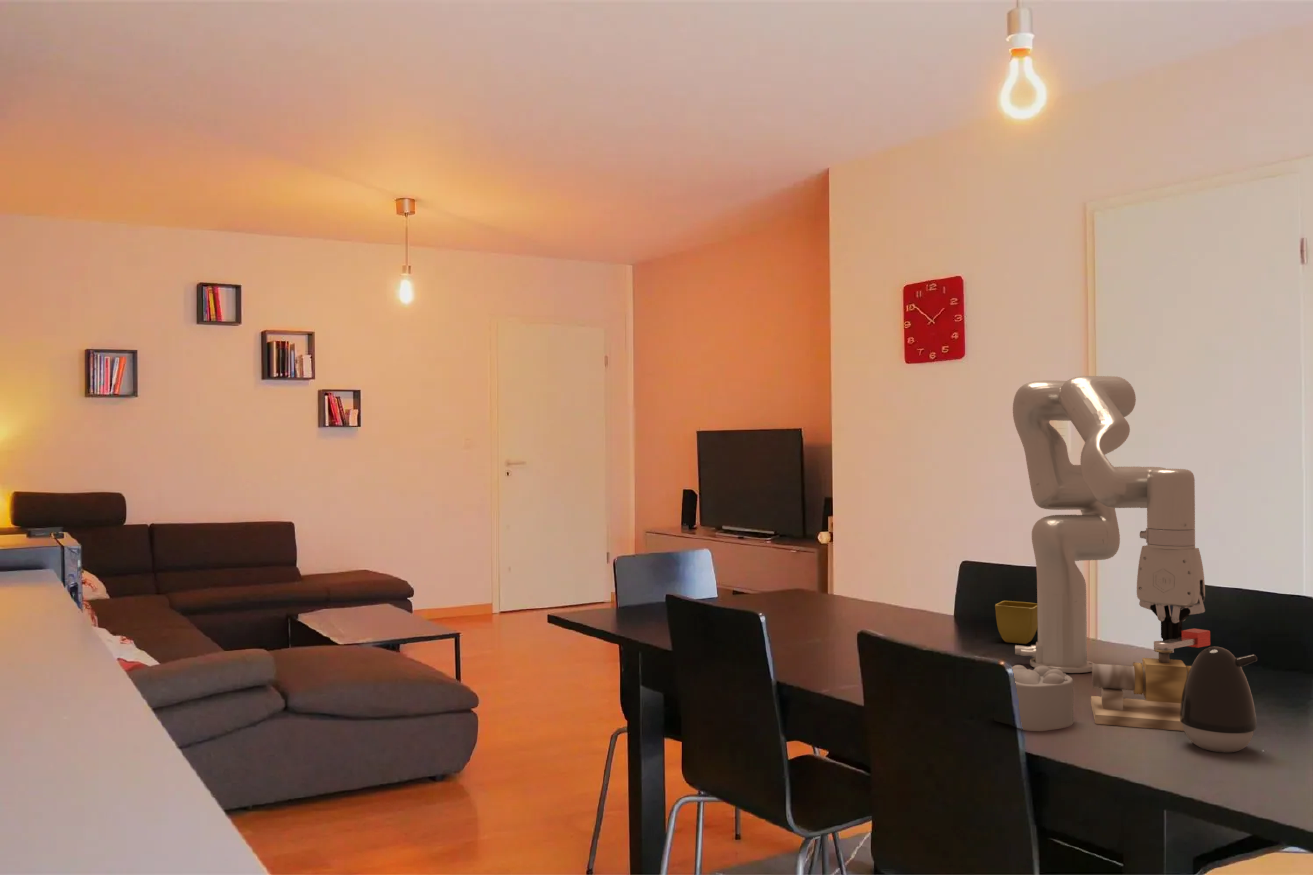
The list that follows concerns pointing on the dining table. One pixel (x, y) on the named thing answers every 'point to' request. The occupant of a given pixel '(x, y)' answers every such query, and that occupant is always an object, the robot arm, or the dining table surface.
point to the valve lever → (1184, 641)
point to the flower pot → (1016, 621)
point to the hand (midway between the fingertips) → (1171, 643)
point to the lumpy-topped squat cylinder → (1044, 698)
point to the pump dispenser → (1218, 702)
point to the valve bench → (1152, 680)
